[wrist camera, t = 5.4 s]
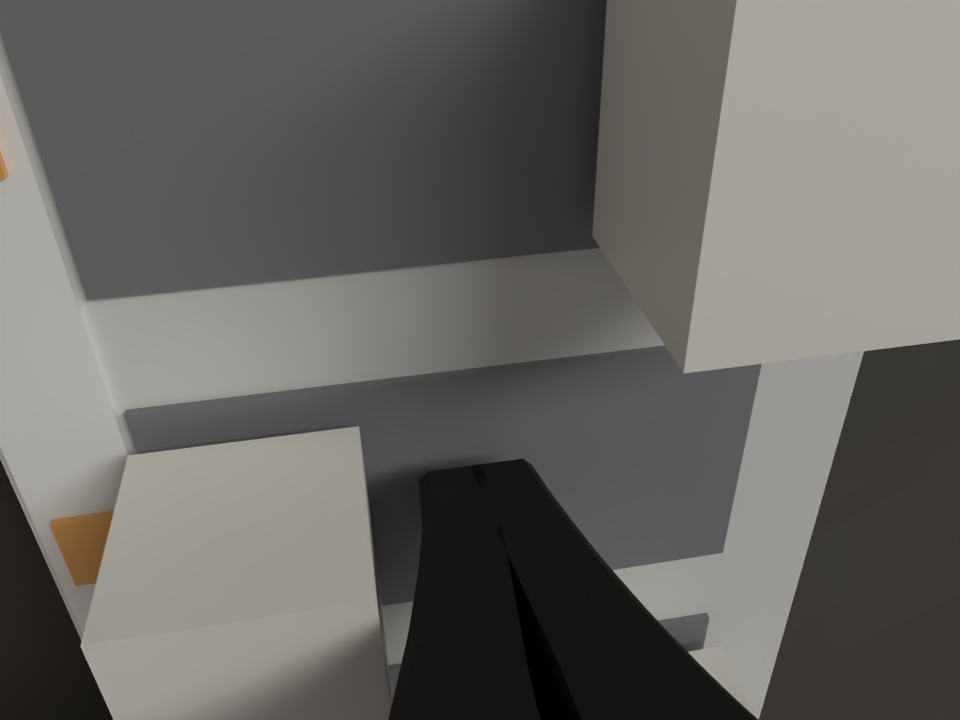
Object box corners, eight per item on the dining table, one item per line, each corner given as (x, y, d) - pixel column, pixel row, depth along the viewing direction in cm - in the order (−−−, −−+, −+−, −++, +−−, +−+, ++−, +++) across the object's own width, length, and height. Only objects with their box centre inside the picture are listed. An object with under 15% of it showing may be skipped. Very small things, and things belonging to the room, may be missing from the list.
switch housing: (708, 714, 17) (744, 795, 16) (201, 807, 16) (192, 905, 14) (960, -402, 8) (1110, -444, 6) (-272, -412, 6) (-434, -468, 5)
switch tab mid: (382, 609, 11) (401, 789, 9) (188, 639, 10) (165, 834, 9) (358, 426, 9) (377, 600, 7) (127, 455, 9) (81, 646, 7)
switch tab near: (817, 212, 9) (970, 338, 7) (592, 235, 8) (683, 373, 6) (894, -123, 7) (1125, -86, 5) (613, -111, 7) (746, -67, 5)
